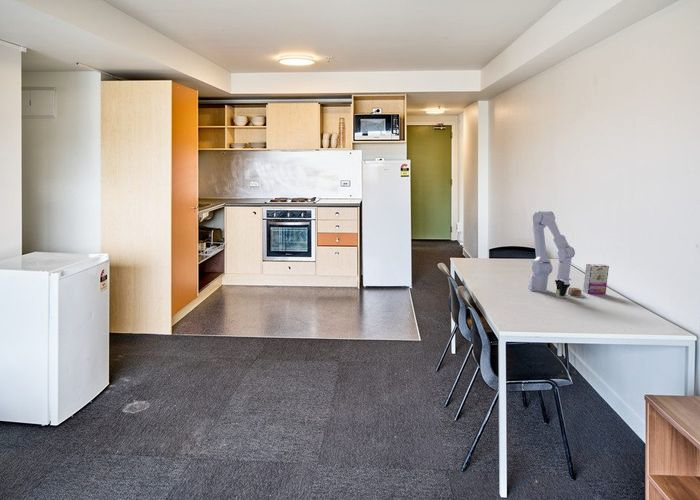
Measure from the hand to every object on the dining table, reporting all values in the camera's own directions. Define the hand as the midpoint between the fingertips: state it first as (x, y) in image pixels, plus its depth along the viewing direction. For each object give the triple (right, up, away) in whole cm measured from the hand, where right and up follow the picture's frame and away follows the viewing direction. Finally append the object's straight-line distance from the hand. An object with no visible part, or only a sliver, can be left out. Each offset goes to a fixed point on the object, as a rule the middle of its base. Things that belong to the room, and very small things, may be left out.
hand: (560, 294), depth 268 cm
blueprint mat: (+10, 0, +10) cm, 14 cm away
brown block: (+10, -1, +6) cm, 11 cm away
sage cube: (0, -1, 0) cm, 1 cm away
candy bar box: (+24, -1, +14) cm, 28 cm away
